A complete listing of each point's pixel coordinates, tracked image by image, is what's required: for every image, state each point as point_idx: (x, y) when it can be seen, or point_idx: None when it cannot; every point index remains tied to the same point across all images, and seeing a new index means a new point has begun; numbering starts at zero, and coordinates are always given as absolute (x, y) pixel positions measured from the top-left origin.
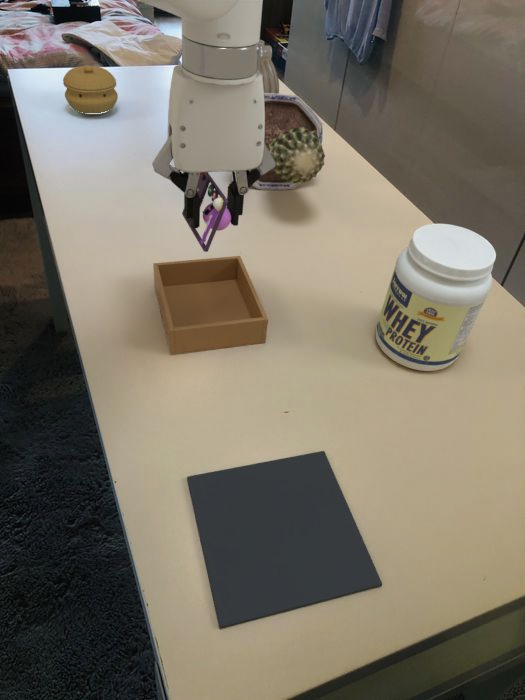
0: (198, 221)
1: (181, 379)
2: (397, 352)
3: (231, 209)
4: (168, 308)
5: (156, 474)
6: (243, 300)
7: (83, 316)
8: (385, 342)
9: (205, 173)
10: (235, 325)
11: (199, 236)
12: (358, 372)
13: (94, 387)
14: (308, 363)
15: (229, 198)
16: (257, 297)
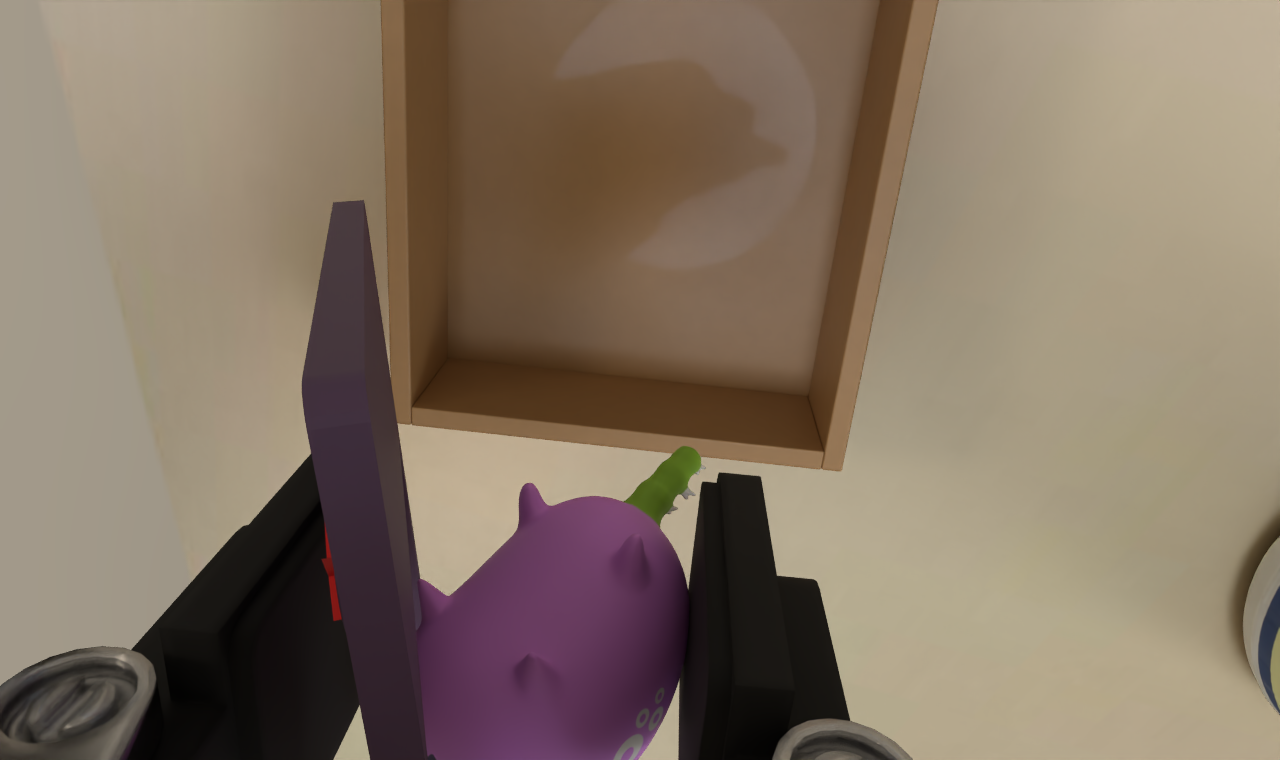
0: None
1: (450, 487)
2: (1269, 689)
3: (684, 711)
4: (407, 274)
5: None
6: (852, 123)
7: (76, 18)
8: (1269, 638)
9: (356, 675)
10: None
11: (416, 594)
12: (1077, 635)
13: (156, 437)
14: (928, 549)
15: (694, 686)
16: (867, 314)
